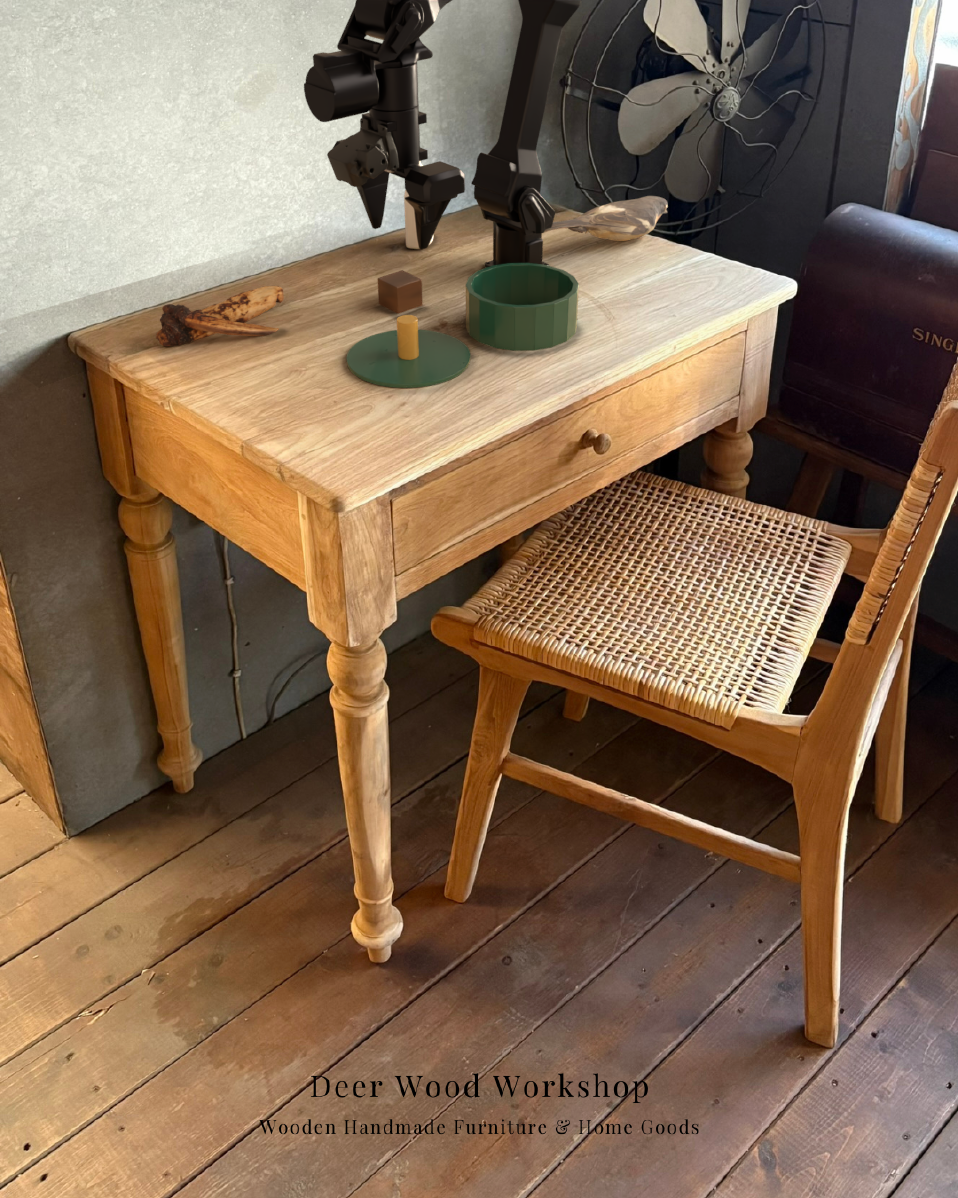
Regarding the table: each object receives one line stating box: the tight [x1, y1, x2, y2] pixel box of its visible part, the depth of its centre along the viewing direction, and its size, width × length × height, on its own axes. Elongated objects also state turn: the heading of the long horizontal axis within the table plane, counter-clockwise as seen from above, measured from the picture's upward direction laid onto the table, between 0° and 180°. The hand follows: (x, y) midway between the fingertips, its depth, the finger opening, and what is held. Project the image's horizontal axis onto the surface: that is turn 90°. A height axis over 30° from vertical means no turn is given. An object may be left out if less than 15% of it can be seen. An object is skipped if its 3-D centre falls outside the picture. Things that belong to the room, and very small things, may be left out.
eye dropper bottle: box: [403, 161, 435, 250], centre depth 166 cm, size 4×6×12 cm
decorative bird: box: [544, 195, 669, 242], centre depth 167 cm, size 6×25×5 cm, turn 127°
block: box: [377, 269, 424, 314], centre depth 150 cm, size 4×4×4 cm
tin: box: [465, 263, 580, 352], centre depth 144 cm, size 13×14×6 cm
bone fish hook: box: [155, 285, 285, 347], centre depth 144 cm, size 9×5×18 cm
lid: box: [346, 314, 471, 389], centre depth 137 cm, size 14×14×6 cm
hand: (399, 238), depth 146 cm, fingers open, 9 cm apart
